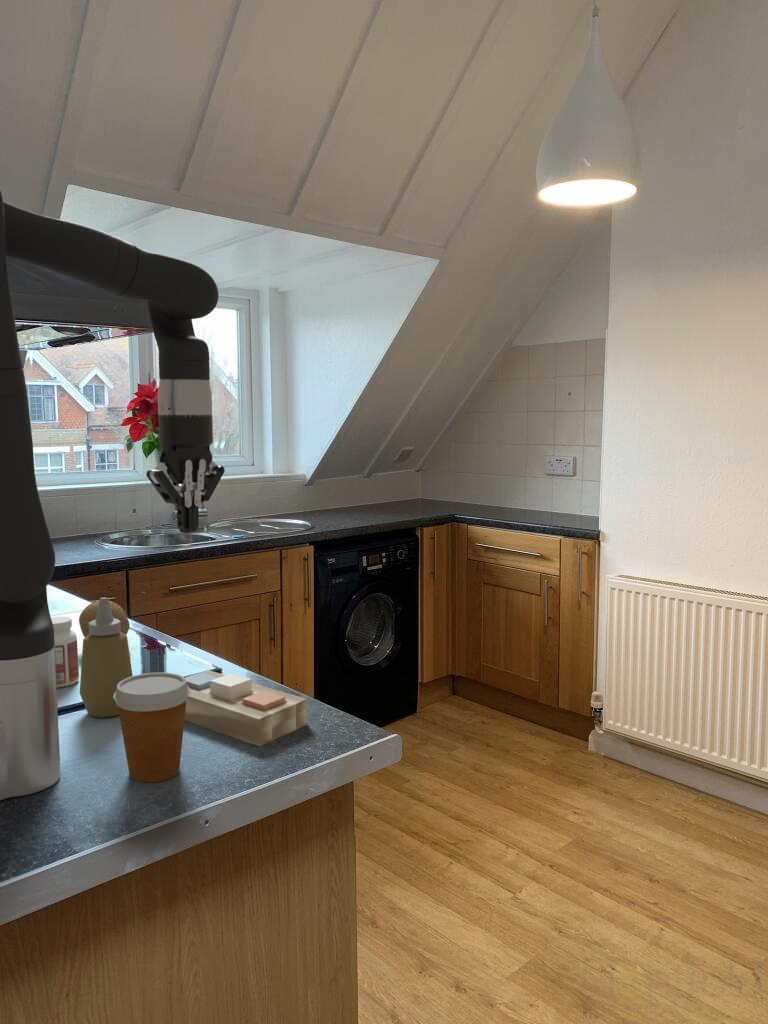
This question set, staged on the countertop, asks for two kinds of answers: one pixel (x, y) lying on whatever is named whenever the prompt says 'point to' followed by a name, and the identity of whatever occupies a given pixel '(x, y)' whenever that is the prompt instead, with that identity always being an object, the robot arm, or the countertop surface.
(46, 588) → the robot arm
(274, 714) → the key box
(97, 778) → the countertop surface
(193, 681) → the slate key
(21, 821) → the countertop surface
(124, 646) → the squeeze bottle
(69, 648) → the pill bottle
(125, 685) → the disposable coffee cup
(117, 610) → the natural sponge
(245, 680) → the white key
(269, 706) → the terracotta key
